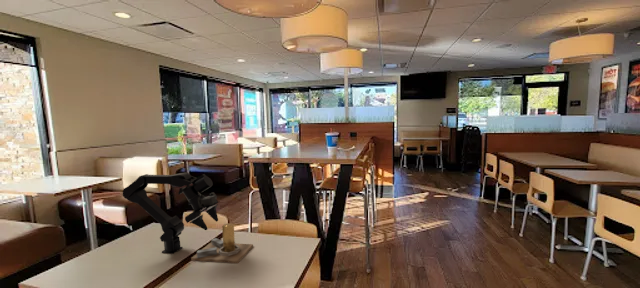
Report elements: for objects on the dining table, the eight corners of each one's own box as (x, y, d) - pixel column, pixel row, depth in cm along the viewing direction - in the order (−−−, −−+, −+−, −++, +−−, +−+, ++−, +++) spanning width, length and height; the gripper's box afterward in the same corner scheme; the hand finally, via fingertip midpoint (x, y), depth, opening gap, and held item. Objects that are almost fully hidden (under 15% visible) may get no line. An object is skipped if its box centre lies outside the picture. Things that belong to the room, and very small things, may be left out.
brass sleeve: (223, 254, 125) (221, 228, 124) (224, 249, 130) (222, 224, 129) (234, 252, 126) (233, 226, 125) (235, 247, 131) (234, 222, 130)
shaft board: (191, 260, 123) (190, 252, 122) (211, 244, 138) (210, 237, 138) (238, 263, 119) (237, 255, 119) (253, 246, 135) (252, 239, 134)
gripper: (194, 195, 119) (214, 226, 120) (217, 183, 137) (234, 209, 138) (176, 207, 122) (195, 237, 122) (200, 193, 140) (217, 219, 141)
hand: (212, 225), depth 131 cm, fingers open, 9 cm apart
